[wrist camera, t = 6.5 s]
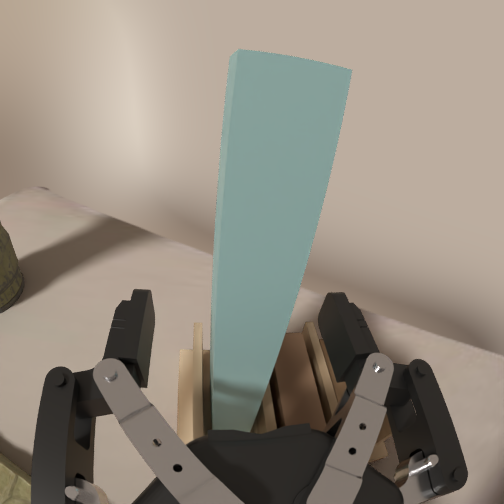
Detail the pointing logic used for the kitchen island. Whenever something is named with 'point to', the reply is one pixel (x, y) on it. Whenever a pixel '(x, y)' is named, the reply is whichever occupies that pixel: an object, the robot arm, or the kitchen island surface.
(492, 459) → the kitchen island surface
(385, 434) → the beech rack
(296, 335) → the walnut offcut
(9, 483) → the decorative tile
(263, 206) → the teal board
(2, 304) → the thermos
